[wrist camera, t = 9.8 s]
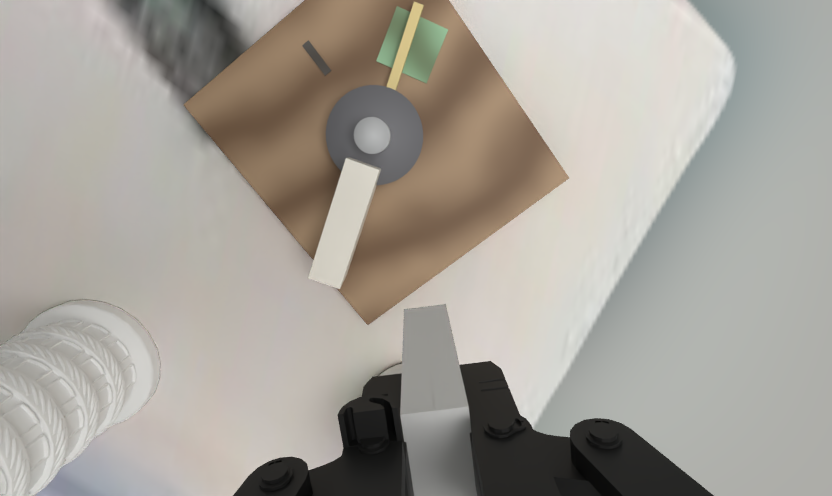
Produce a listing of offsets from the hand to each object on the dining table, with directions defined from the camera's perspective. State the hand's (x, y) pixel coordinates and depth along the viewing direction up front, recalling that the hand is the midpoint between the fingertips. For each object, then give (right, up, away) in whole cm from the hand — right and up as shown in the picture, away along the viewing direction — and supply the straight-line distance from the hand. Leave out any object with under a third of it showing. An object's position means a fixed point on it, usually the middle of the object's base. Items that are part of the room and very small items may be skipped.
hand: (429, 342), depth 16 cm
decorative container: (-29, -7, +24) cm, 38 cm away
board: (-3, +12, +20) cm, 24 cm away
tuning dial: (-4, +12, +18) cm, 22 cm away
